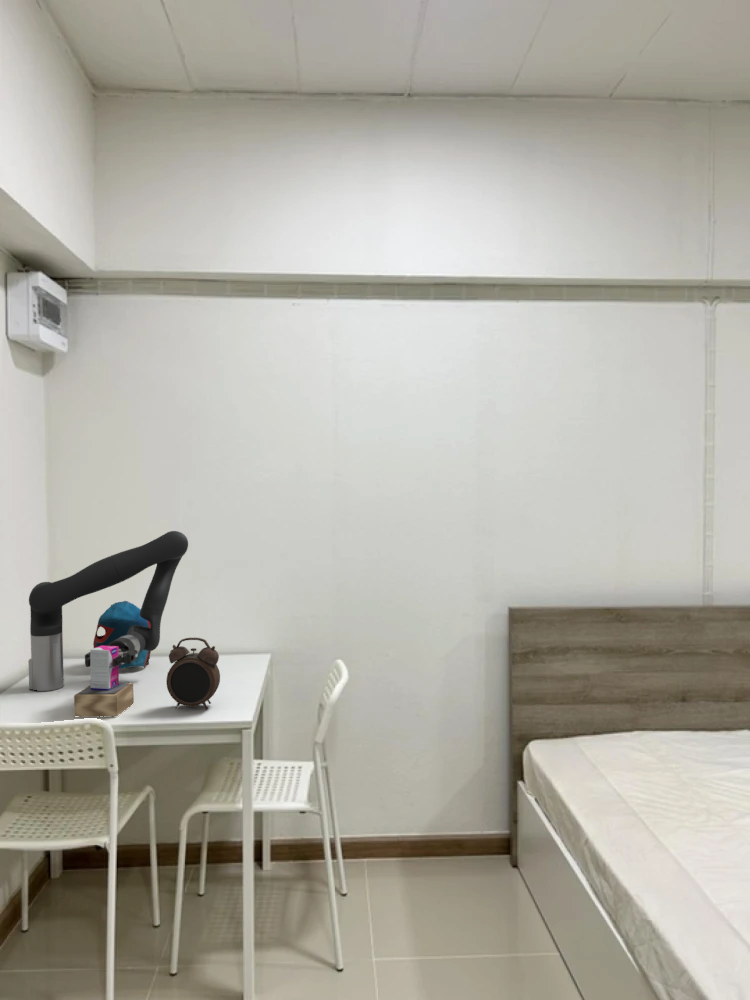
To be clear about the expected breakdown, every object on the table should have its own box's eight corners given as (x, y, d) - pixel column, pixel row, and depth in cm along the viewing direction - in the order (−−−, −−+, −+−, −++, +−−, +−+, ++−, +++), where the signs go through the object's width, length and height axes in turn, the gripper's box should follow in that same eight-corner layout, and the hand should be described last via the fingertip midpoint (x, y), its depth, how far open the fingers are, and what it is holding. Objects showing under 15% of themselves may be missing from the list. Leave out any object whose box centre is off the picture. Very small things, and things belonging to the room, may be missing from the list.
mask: (102, 688, 255) (73, 622, 256) (153, 663, 268) (126, 600, 269) (119, 681, 242) (89, 611, 243) (172, 655, 255) (143, 589, 256)
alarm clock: (164, 712, 206) (162, 641, 205) (173, 704, 213) (171, 635, 212) (215, 712, 205) (214, 640, 204) (222, 704, 212) (221, 635, 212)
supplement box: (109, 691, 205) (108, 650, 204) (89, 690, 206) (88, 649, 205) (120, 685, 210) (119, 645, 210) (101, 684, 211) (100, 645, 211)
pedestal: (74, 717, 202) (74, 694, 202) (93, 703, 214) (92, 682, 214) (117, 717, 202) (116, 694, 202) (133, 703, 214) (133, 681, 214)
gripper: (99, 637, 222) (75, 650, 206) (146, 637, 222) (125, 649, 205) (100, 662, 222) (75, 676, 206) (147, 661, 222) (126, 676, 205)
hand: (100, 663), depth 206 cm, fingers open, 7 cm apart
